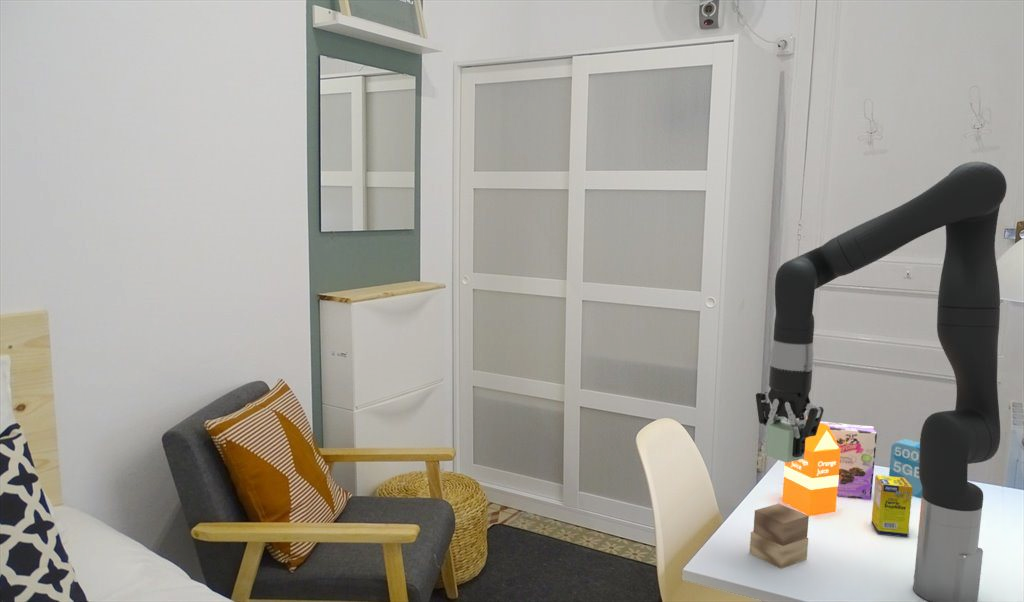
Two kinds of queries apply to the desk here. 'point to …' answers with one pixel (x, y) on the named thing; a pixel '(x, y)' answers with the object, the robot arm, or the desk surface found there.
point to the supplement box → (891, 505)
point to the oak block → (778, 551)
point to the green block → (781, 442)
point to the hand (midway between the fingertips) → (785, 451)
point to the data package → (906, 463)
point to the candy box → (855, 459)
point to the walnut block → (781, 524)
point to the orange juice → (814, 475)
